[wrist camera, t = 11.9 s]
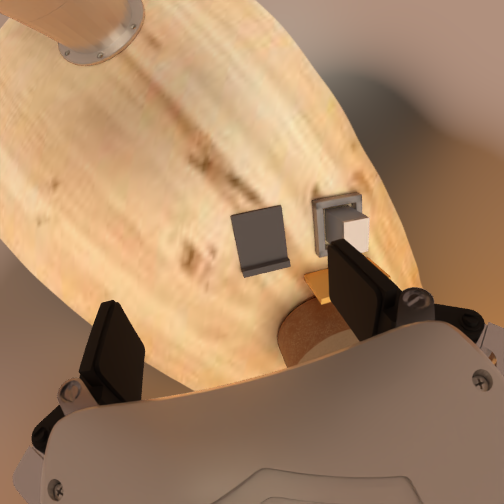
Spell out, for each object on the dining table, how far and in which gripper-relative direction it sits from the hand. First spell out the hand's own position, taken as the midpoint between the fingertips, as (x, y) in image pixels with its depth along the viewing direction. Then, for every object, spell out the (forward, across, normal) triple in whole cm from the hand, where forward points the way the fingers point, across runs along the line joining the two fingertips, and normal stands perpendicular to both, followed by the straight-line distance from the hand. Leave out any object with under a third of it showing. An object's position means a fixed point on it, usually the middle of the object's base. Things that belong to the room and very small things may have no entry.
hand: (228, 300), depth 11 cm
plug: (+25, -18, +11) cm, 33 cm away
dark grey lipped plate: (+25, -6, +10) cm, 28 cm away
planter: (+25, -13, +31) cm, 41 cm away
